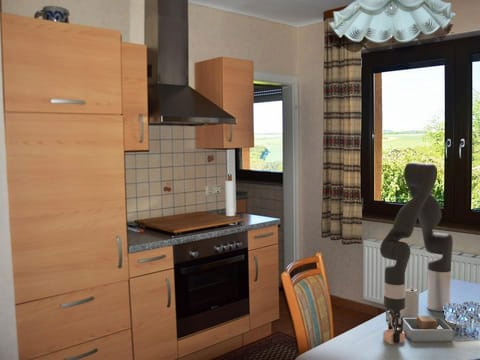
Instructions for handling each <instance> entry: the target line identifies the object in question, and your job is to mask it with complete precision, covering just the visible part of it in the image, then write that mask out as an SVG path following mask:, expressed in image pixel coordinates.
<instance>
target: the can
mask: <svg viewBox="0 0 480 360" xmlns="http://www.w3.org/2000/svg"><path fill="white" fill-rule="evenodd" d="M419 295H420V293H419V292H418V289H417V288H415V287H412V286H411V287H410V286H405V308H404V309H403V310H400V313H401V318H417V316H419V306H420V305H419V300H420V297H419Z"/></svg>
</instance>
